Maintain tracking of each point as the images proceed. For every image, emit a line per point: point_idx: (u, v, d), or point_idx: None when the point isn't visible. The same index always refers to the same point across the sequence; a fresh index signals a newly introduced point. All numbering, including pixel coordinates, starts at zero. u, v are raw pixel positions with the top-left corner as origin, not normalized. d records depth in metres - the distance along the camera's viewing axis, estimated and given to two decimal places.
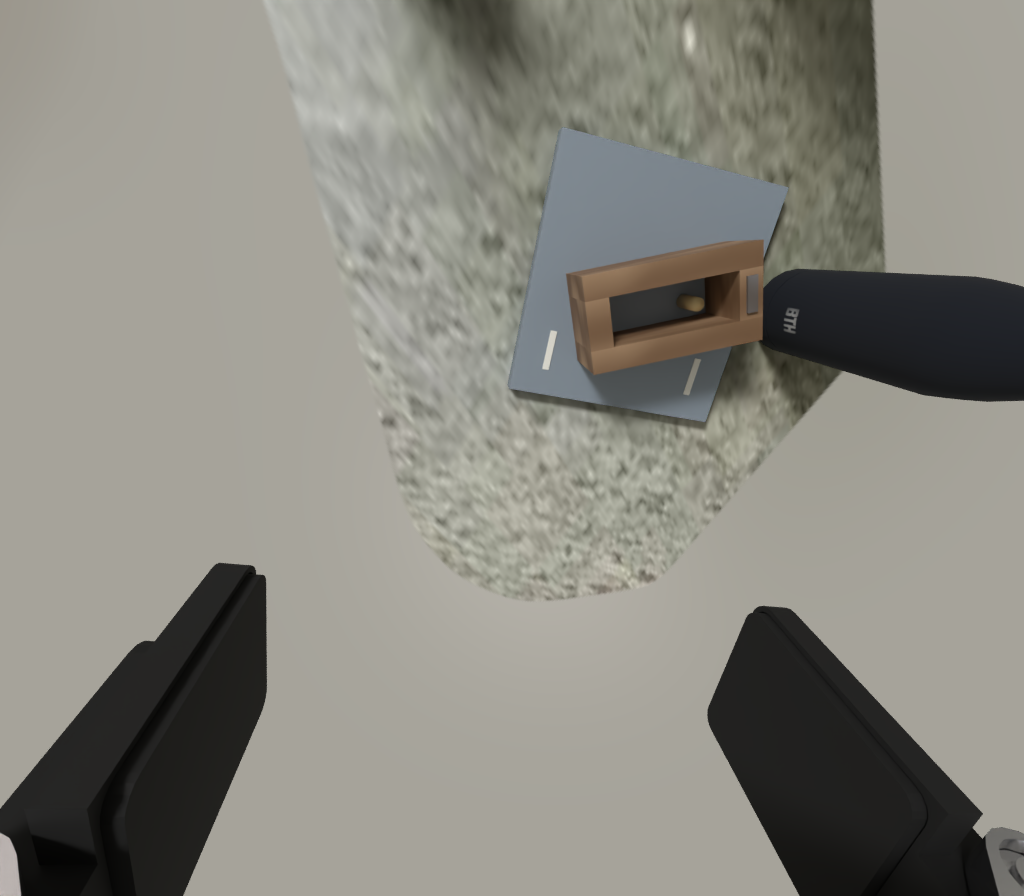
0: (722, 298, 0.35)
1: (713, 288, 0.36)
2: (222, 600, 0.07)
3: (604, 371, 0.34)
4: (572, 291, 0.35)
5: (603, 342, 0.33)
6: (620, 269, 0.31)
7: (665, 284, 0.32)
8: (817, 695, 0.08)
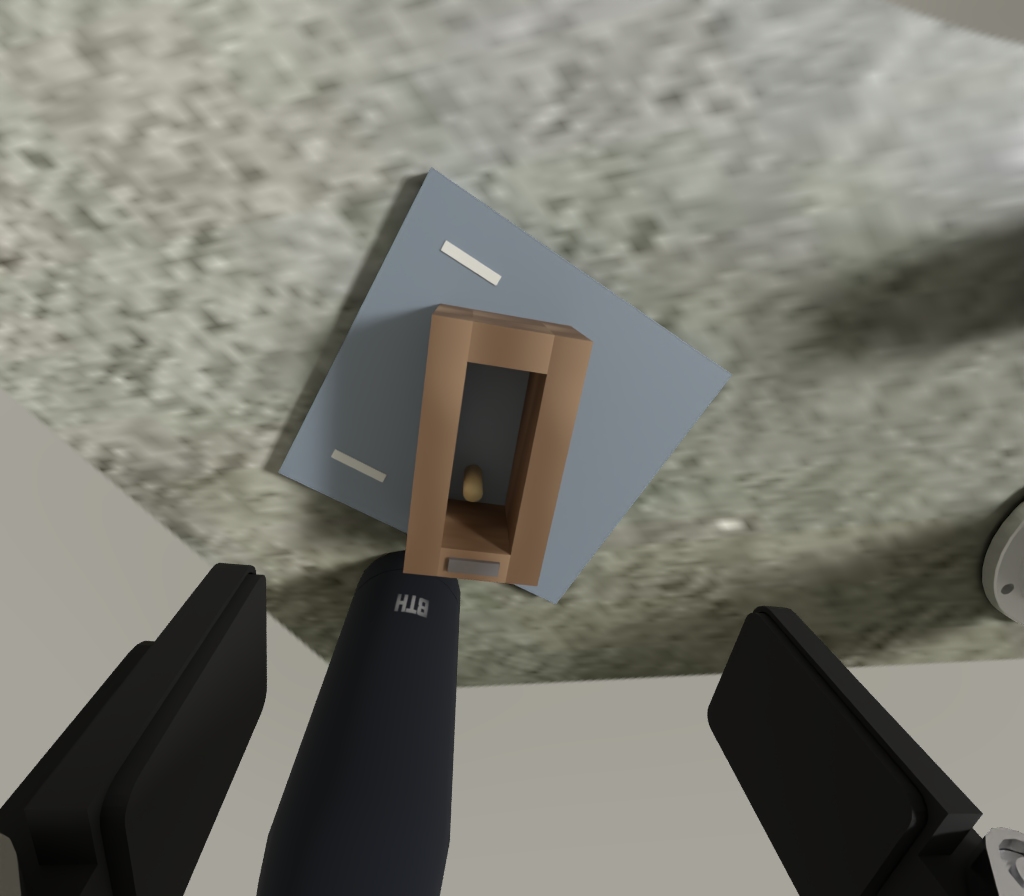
0: (469, 525, 0.25)
1: (481, 514, 0.26)
2: (222, 600, 0.07)
3: (432, 334, 0.19)
4: (552, 325, 0.23)
5: (482, 346, 0.19)
6: (578, 401, 0.21)
7: (531, 458, 0.21)
8: (817, 695, 0.08)
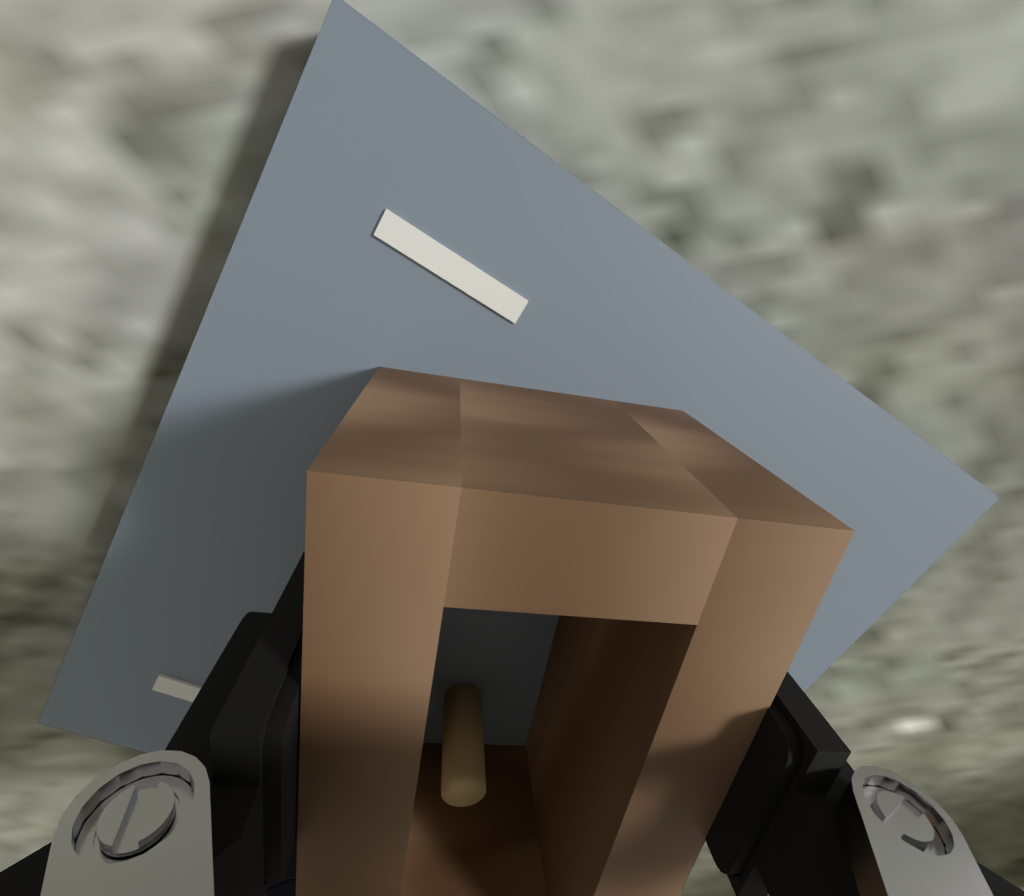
0: (455, 853, 0.11)
1: None
2: None
3: (314, 534, 0.05)
4: (660, 426, 0.09)
5: (493, 560, 0.06)
6: (776, 682, 0.07)
7: (628, 816, 0.08)
8: None
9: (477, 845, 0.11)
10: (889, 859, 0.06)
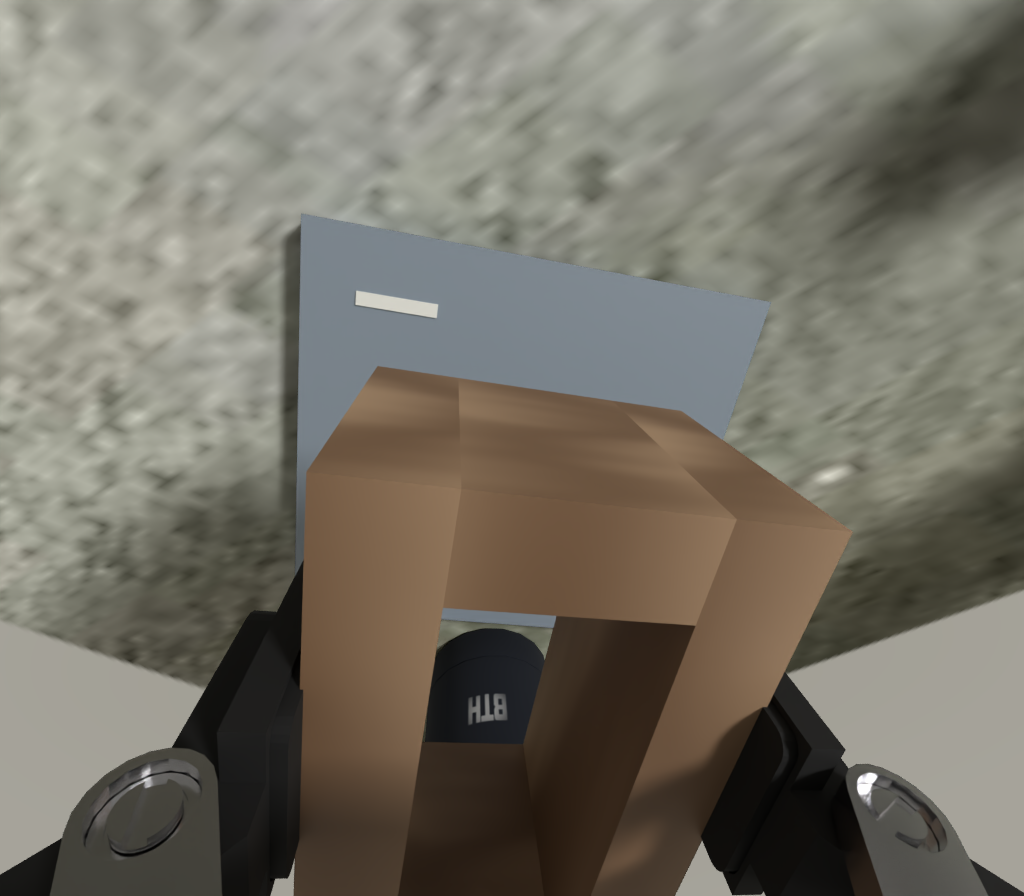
0: (452, 852, 0.11)
1: (478, 792, 0.13)
2: None
3: (313, 535, 0.05)
4: (658, 426, 0.09)
5: (493, 561, 0.06)
6: (773, 682, 0.07)
7: (626, 815, 0.08)
8: None
9: (475, 844, 0.11)
10: (884, 857, 0.06)
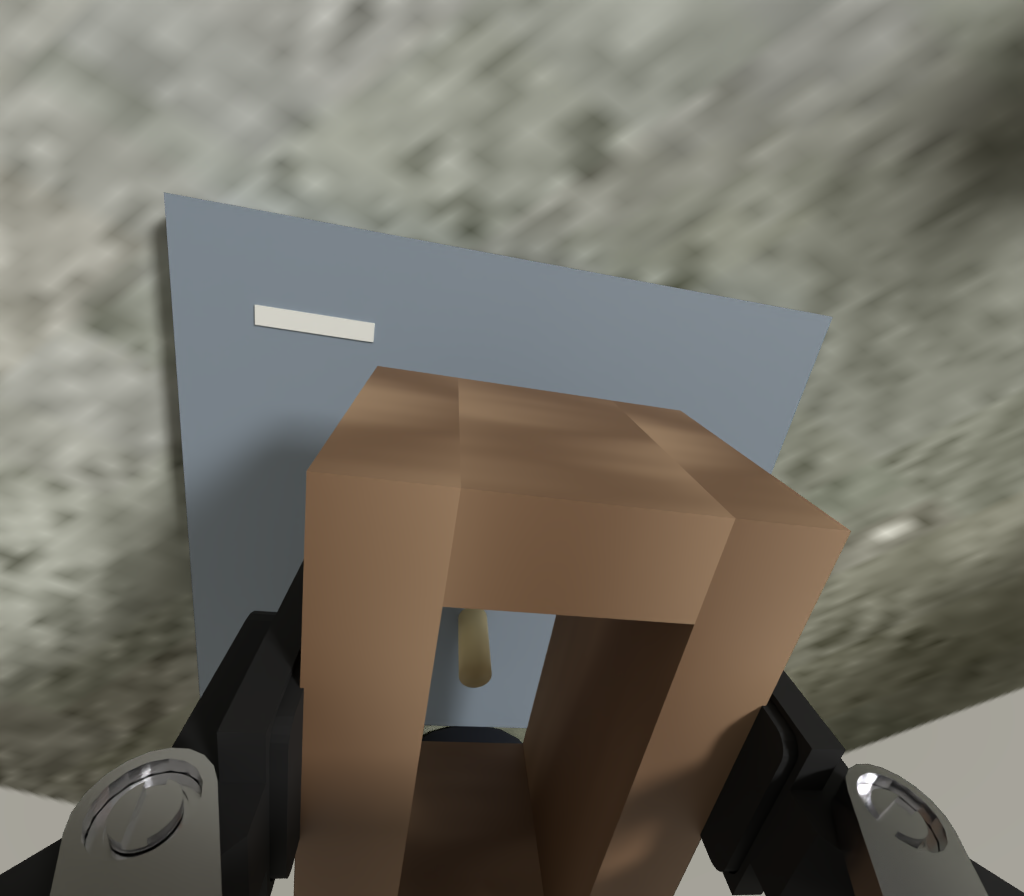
0: (453, 851, 0.11)
1: (477, 791, 0.13)
2: None
3: (313, 534, 0.05)
4: (657, 426, 0.09)
5: (492, 560, 0.06)
6: (772, 681, 0.07)
7: (625, 813, 0.08)
8: None
9: (474, 843, 0.12)
10: (883, 857, 0.06)
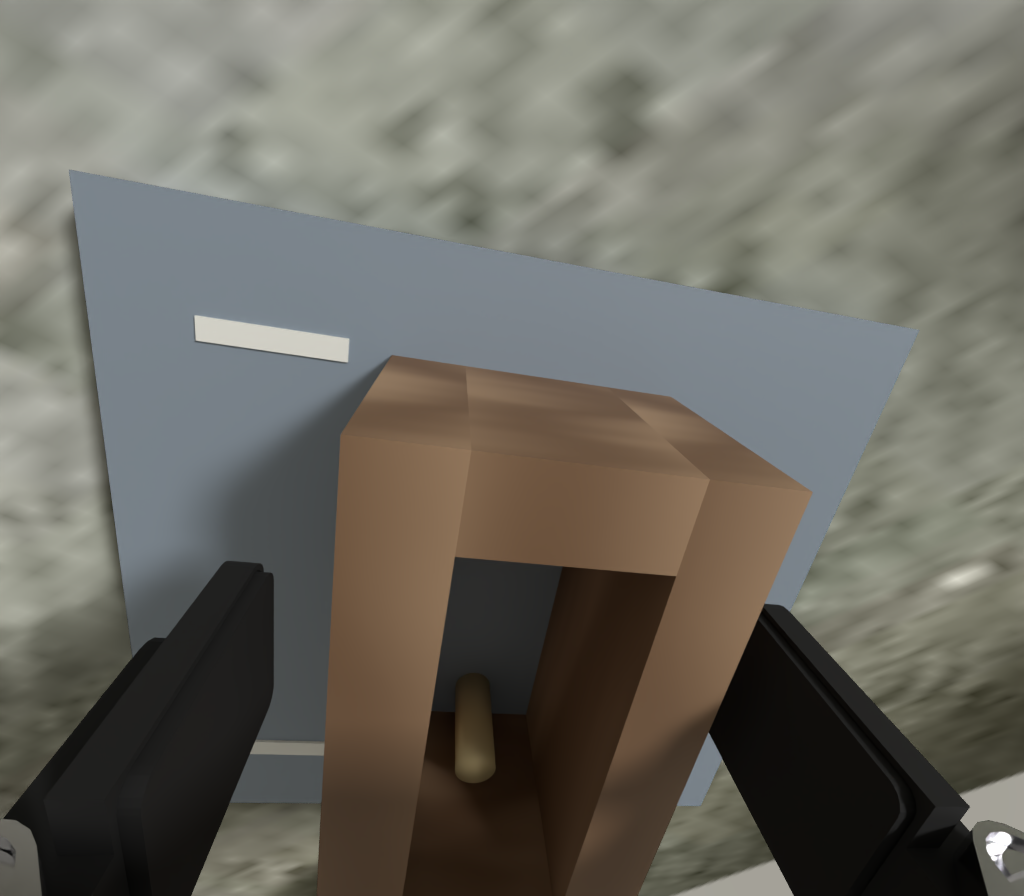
0: (460, 806, 0.12)
1: None
2: (232, 597, 0.07)
3: (345, 490, 0.06)
4: (648, 409, 0.10)
5: (499, 515, 0.07)
6: (747, 630, 0.08)
7: (618, 754, 0.09)
8: (808, 691, 0.08)
9: (481, 800, 0.12)
10: None
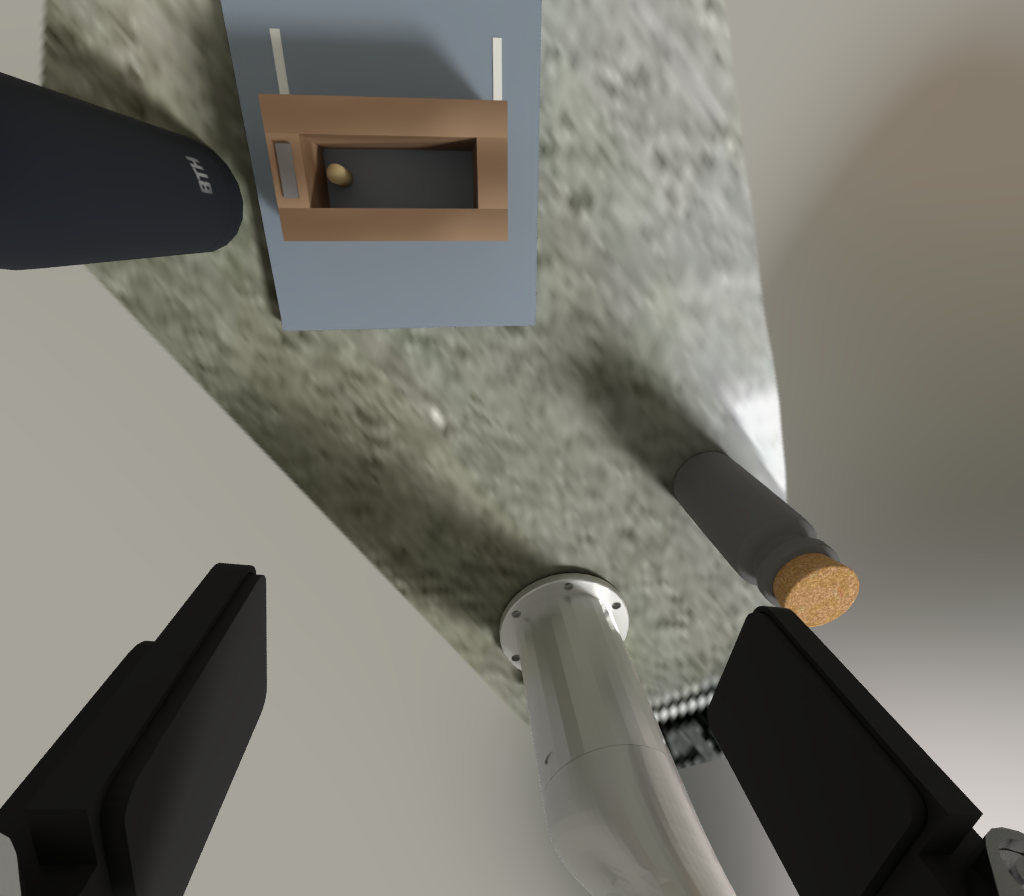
0: (314, 168, 0.27)
1: (322, 183, 0.28)
2: (222, 600, 0.07)
3: (492, 102, 0.25)
4: None
5: (490, 148, 0.25)
6: (462, 239, 0.27)
7: (407, 210, 0.26)
8: (817, 695, 0.08)
9: (316, 179, 0.27)
10: None
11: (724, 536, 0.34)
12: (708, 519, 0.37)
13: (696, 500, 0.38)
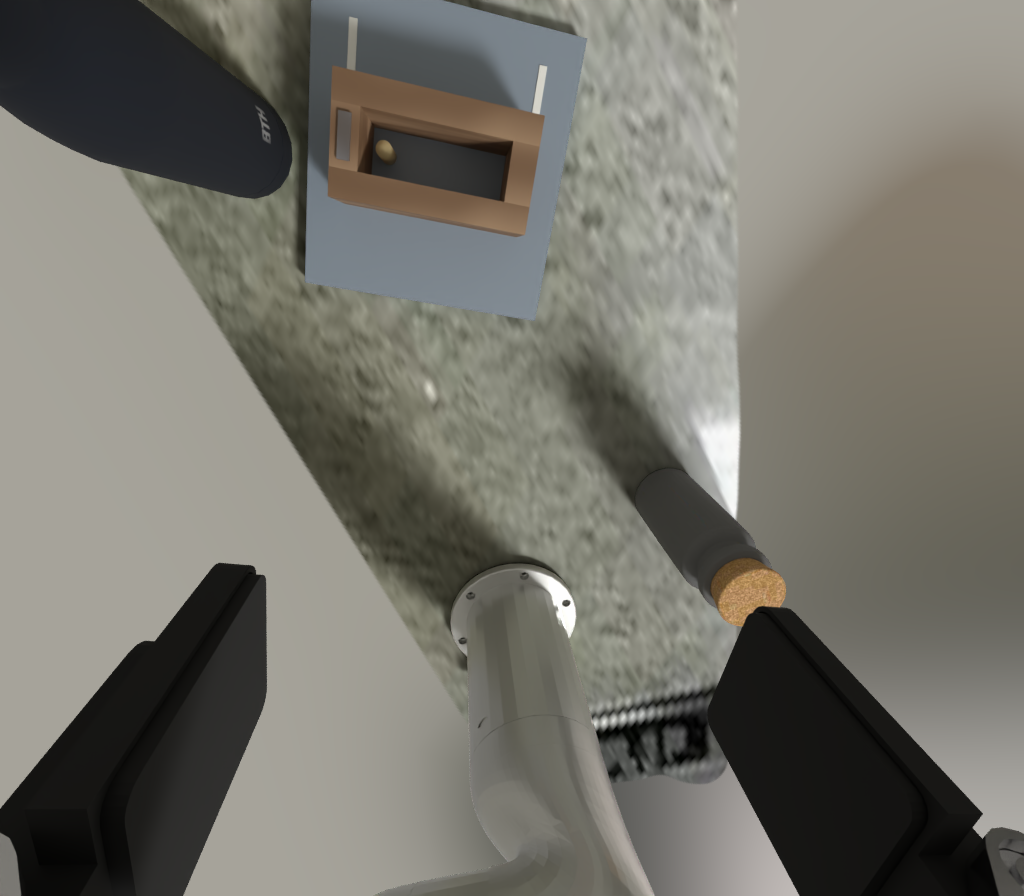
0: (366, 140, 0.30)
1: (368, 156, 0.31)
2: (222, 600, 0.07)
3: (532, 114, 0.28)
4: None
5: (523, 153, 0.29)
6: (485, 226, 0.30)
7: (442, 190, 0.29)
8: (817, 695, 0.08)
9: (365, 150, 0.30)
10: None
11: (674, 539, 0.38)
12: (662, 524, 0.40)
13: (654, 507, 0.42)
